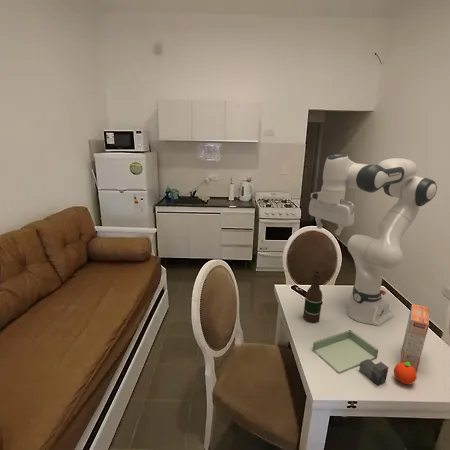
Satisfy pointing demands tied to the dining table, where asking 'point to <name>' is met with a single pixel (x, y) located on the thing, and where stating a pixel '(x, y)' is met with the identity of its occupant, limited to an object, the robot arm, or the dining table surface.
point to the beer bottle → (313, 300)
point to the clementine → (405, 373)
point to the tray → (344, 351)
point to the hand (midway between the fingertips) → (328, 231)
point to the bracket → (374, 371)
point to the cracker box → (415, 335)
